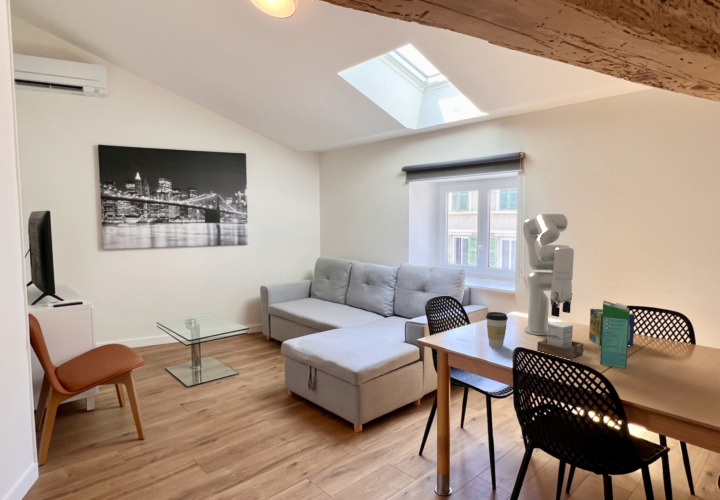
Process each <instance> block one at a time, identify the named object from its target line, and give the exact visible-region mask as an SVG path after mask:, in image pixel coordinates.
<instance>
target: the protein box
mask: <svg viewBox="0 0 720 500" xmlns="http://www.w3.org/2000/svg"><path fill="white" fill-rule="evenodd" d="M589 310H590V311H589V332H588V333H589V335H588V340H590V341H591V342H592V343H594V344H596V345H598V346H599V347H601V335H602V314H603V308H590V309H589ZM635 317H636V315H635V314H634V313H632V312H630V311H629V331H628V345H630V346H633V347H634V336H635V335H634V332H635V331H634V330H635V319H636V318H635Z"/></svg>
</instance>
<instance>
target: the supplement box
mask: <svg viewBox="0 0 720 500" xmlns="http://www.w3.org/2000/svg"><path fill="white" fill-rule="evenodd" d="M548 323H549V324H548V335H546V336H547V337H546V339H547V344H550V345H554V346H558V347H562V348H566V349H568V348H571V347H572V341H573V329H574V326H573V325H572V324H567V323H563V322H559V321H555V322H548Z"/></svg>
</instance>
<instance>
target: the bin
mask: <svg viewBox="0 0 720 500" xmlns="http://www.w3.org/2000/svg"><path fill="white" fill-rule="evenodd" d="M536 348H537V351H540V352H544V353H547V354H551V355H554V356H558V357H562V358H566V359H570V361H572V360H574V359H577V358H579V357H581V356H583V355H584V343H583V342H578V341H573V340H572V347H571V348H568V349H566V348H562V347H558V346H554V345H550V344H547V338H545V339H542V340H539V341H537V347H536ZM537 351H536V352H537ZM576 357H577V358H576Z"/></svg>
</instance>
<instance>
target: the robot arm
mask: <svg viewBox="0 0 720 500" xmlns="http://www.w3.org/2000/svg"><path fill="white" fill-rule="evenodd" d="M567 228H568V219H567V216H565V215H564V214H563V213H542V214H539V215H538V216H536V217H532V218H528V219H526V220H525V221H524V222H523V224H522V232H523V236H524V239H525V241H526V245H527V251H528V263H529V267H530V269H531V270H535V272H531V273H529V274H528V276H527V287H528V289H527V290H528V309H527V310H528V313H527V327H525V328H524V332H525V333H527V334H530V335H534V336H535V335H536V336H548V324H549V323H550V322H549V306H551V316H553V317H557V318H559V317H560V313H561V312H560V305H561V304H562V308H561V309H562V312H563V313H567V314H570V313H571V306H572V305H571V304H572V299H573V298H572V297H573V292H572V291H573V287H572V286H573V285H572V284H573V283H572V280H573V277H574V276H573V275H574V259H575V258H574V257H575V256H574V255H575V251H574V250H575V249H573V248H572V247H571V246H569V245H567V244H566V245H565V244H564V245H563V244H553V243H555V242H556V241H558V239H559V237H560V236H561V235H560V234H561V233H563V232H564V231H566V230H567ZM549 271H551V272H549ZM546 291H547V292H548V291H550V298H549V297H548V296H547V295H546V294H545V292H546ZM549 300H550V301H549ZM549 302H550V304H551V305H550V304H549Z"/></svg>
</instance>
